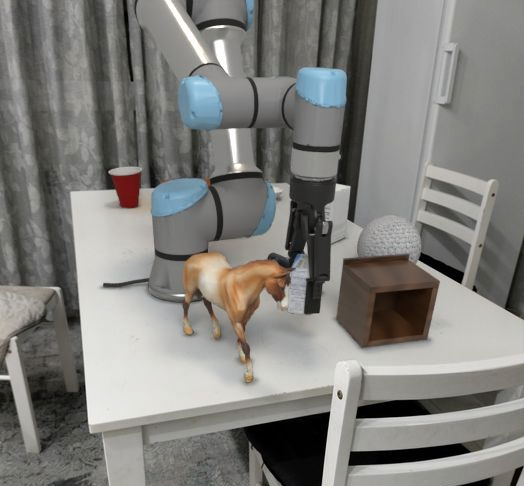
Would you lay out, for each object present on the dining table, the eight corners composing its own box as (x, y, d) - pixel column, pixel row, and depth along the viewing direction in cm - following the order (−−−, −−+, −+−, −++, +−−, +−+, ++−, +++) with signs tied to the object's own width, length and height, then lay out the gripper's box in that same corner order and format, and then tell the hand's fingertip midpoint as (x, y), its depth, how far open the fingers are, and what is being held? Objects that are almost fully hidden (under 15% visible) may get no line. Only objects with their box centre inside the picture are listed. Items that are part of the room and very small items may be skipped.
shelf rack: (361, 347, 98) (371, 282, 91) (336, 319, 108) (343, 258, 101) (427, 339, 102) (441, 275, 95) (396, 312, 111) (407, 253, 105)
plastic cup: (111, 202, 179) (107, 166, 173) (143, 201, 182) (140, 165, 176) (113, 211, 170) (108, 172, 164) (146, 209, 173) (144, 171, 167)
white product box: (320, 231, 159) (325, 180, 152) (345, 237, 154) (352, 186, 147) (303, 237, 153) (307, 185, 145) (329, 245, 148) (334, 191, 141)
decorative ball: (374, 292, 120) (384, 228, 113) (342, 269, 132) (349, 210, 125) (428, 284, 125) (440, 222, 118) (392, 263, 137) (401, 205, 130)
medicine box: (311, 316, 93) (315, 271, 89) (286, 313, 94) (290, 268, 90) (316, 298, 100) (320, 255, 96) (293, 295, 101) (296, 252, 96)
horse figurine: (290, 384, 86) (299, 266, 76) (251, 398, 82) (255, 276, 72) (199, 312, 108) (197, 213, 98) (165, 321, 104) (158, 219, 94)
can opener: (259, 274, 127) (260, 252, 125) (280, 268, 131) (281, 246, 129) (310, 299, 116) (312, 275, 113) (332, 291, 120) (334, 268, 117)
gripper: (363, 192, 77) (345, 326, 89) (311, 161, 95) (301, 277, 106) (316, 194, 75) (303, 331, 87) (271, 162, 93) (266, 279, 104)
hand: (302, 301), depth 97 cm, fingers closed on medicine box, 9 cm apart
